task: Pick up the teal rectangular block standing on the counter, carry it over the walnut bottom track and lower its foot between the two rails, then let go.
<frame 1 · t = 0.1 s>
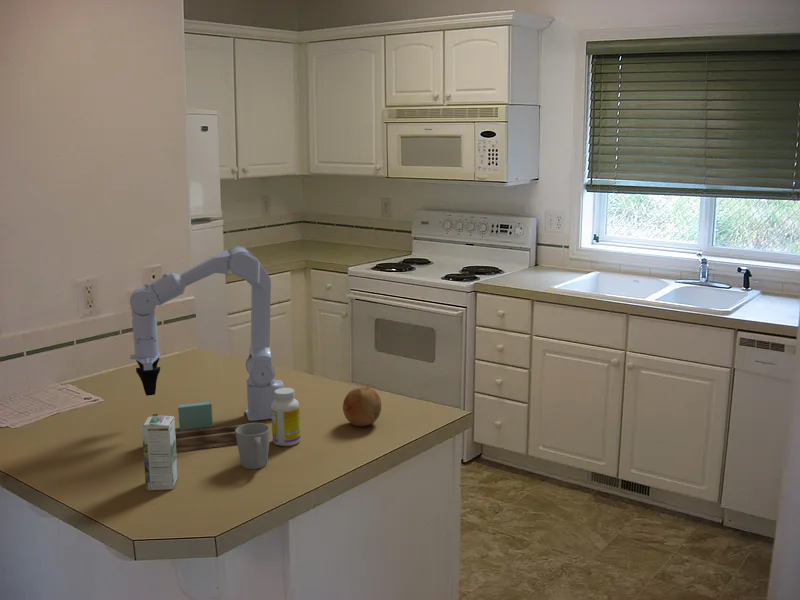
hand: (150, 389, 208), 10 cm above the counter, tool pointing down, fingers open, 7 cm apart
teal rectangular block: (196, 427, 211), on the counter
track: (203, 442, 201), on the counter
syrup box: (162, 485, 178), on the counter
grapefruit: (362, 425, 211), on the counter
supplement bottle: (286, 442, 201), on the counter
cup: (255, 467, 187), on the counter
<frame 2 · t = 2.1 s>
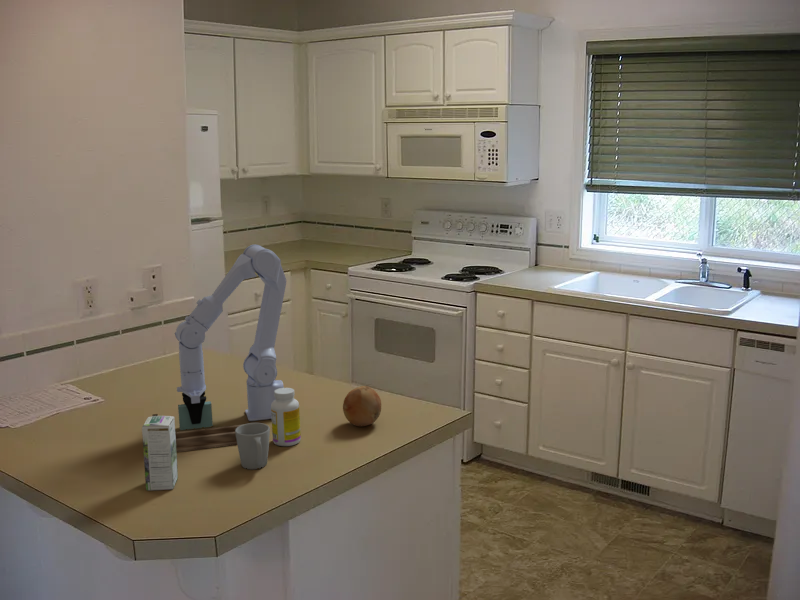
hand: (195, 421, 210), 1 cm above the counter, tool pointing down, fingers closed on teal rectangular block, 2 cm apart
teal rectangular block: (196, 426, 211), on the counter, touching gripper
everything else where it was.
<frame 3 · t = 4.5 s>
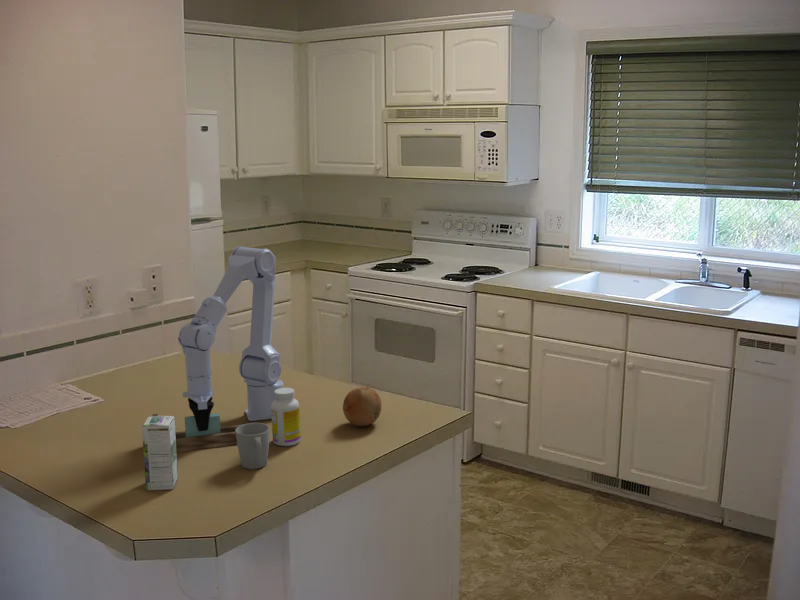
hand: (202, 428, 200), 4 cm above the counter, tool pointing down, fingers closed on teal rectangular block, 2 cm apart
teal rectangular block: (203, 440, 201), point 1 cm above the counter, touching gripper, track
everything else where it was.
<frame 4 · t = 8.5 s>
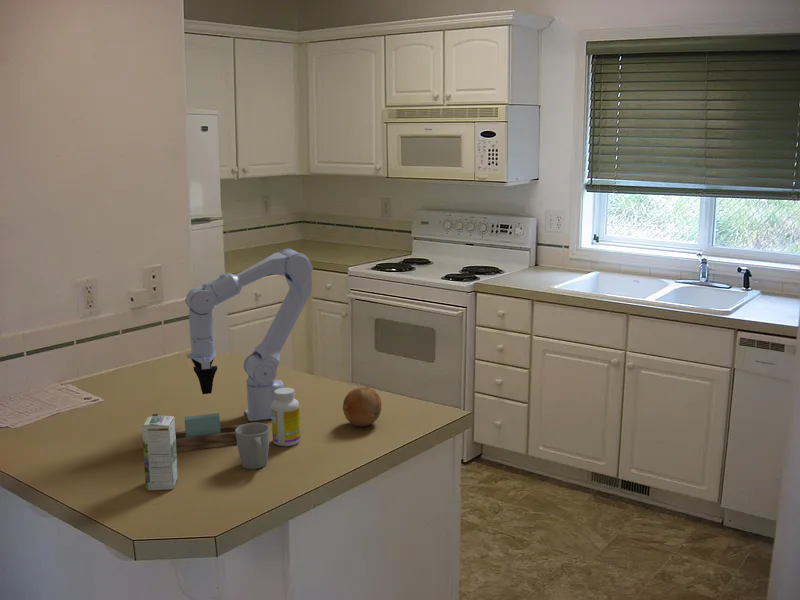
hand: (205, 388, 210), 9 cm above the counter, tool pointing down, fingers open, 7 cm apart
teal rectangular block: (203, 440, 201), point 1 cm above the counter, touching track
everything else where it was.
at the end: teal rectangular block inside the target area on the track (0.0 cm from its centre), point 0.6 cm above the track's base; teal rectangular block tilted 0°; the gripper is holding nothing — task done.
